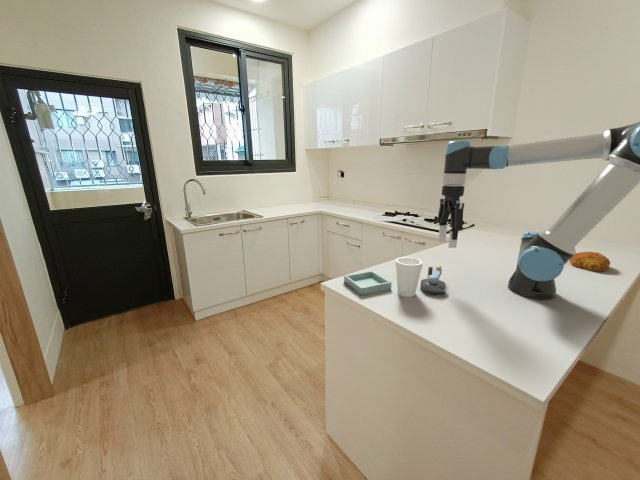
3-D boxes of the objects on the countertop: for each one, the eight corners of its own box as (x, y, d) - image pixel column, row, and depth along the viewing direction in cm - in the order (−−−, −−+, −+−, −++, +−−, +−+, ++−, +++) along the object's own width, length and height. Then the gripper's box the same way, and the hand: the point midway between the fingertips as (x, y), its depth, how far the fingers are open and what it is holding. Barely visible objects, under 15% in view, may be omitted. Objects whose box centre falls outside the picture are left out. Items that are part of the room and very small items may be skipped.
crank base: (451, 292, 113) (453, 276, 111) (432, 297, 109) (433, 280, 107) (429, 281, 123) (430, 266, 122) (410, 285, 120) (411, 270, 118)
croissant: (607, 270, 141) (612, 254, 139) (608, 274, 129) (613, 257, 128) (568, 262, 150) (572, 247, 149) (566, 266, 139) (570, 249, 138)
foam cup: (405, 300, 106) (408, 267, 103) (388, 291, 114) (390, 259, 111) (424, 295, 111) (427, 262, 107) (407, 286, 118) (409, 255, 115)
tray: (391, 289, 116) (391, 282, 115) (361, 295, 110) (361, 288, 110) (371, 277, 128) (372, 270, 127) (344, 282, 123) (344, 275, 122)
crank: (437, 285, 111) (438, 277, 110) (426, 283, 113) (427, 275, 112) (443, 274, 122) (444, 266, 121) (433, 272, 124) (434, 264, 123)
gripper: (479, 187, 99) (470, 252, 105) (449, 182, 119) (443, 237, 125) (458, 187, 99) (450, 252, 105) (431, 183, 119) (426, 237, 125)
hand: (446, 244), depth 115 cm, fingers open, 8 cm apart
